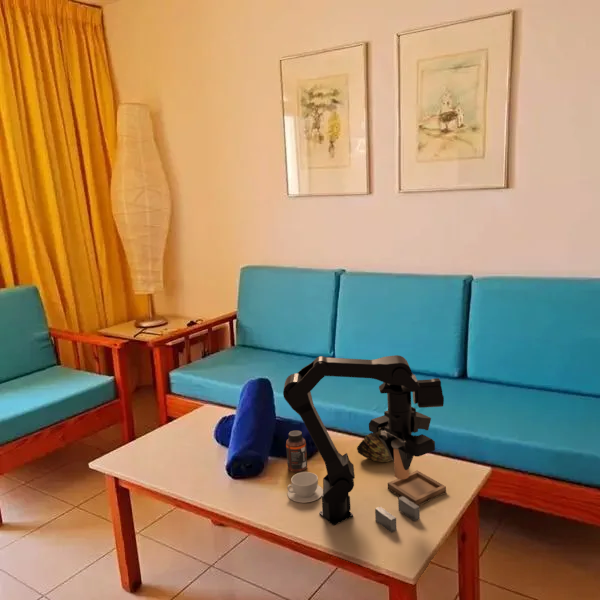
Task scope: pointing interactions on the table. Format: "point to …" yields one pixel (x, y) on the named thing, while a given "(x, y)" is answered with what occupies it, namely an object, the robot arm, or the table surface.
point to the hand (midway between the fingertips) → (401, 466)
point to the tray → (417, 488)
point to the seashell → (374, 448)
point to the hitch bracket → (390, 521)
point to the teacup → (304, 487)
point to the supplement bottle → (296, 452)
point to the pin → (399, 460)
